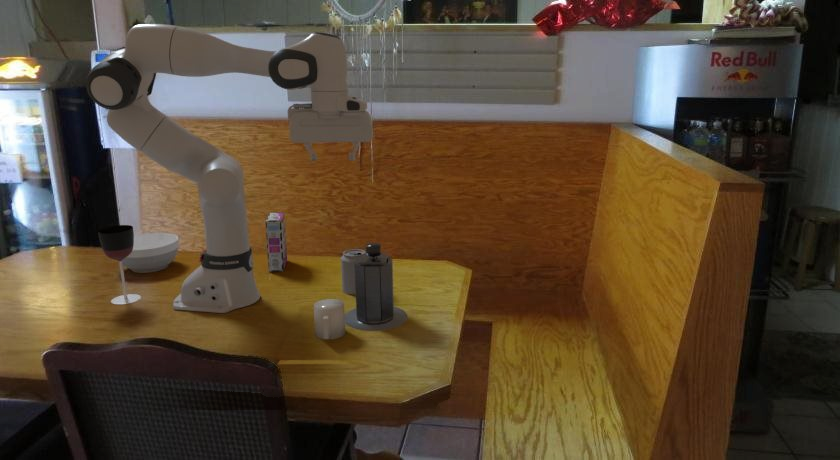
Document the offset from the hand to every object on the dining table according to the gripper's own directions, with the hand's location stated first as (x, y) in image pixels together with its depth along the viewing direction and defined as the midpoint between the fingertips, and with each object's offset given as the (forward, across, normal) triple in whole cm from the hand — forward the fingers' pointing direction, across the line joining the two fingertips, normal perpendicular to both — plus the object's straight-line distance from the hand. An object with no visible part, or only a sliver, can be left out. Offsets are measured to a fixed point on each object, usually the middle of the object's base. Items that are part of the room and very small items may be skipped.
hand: (333, 160), depth 152 cm
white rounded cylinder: (+39, 0, -18) cm, 43 cm away
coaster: (+39, +10, -8) cm, 41 cm away
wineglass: (+39, -60, +7) cm, 72 cm away
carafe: (+38, +10, -7) cm, 40 cm away
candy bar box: (+39, -24, +34) cm, 57 cm away
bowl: (+39, -65, +34) cm, 83 cm away
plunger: (+32, +10, -8) cm, 35 cm away
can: (+39, +3, +11) cm, 41 cm away
